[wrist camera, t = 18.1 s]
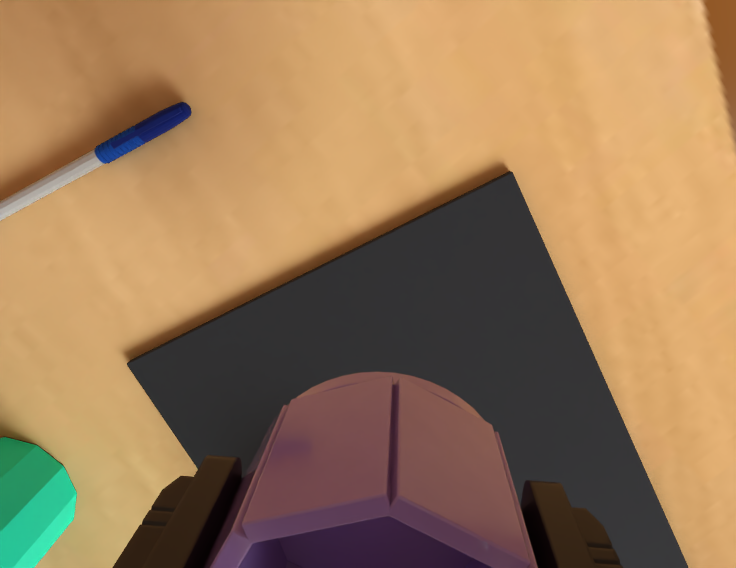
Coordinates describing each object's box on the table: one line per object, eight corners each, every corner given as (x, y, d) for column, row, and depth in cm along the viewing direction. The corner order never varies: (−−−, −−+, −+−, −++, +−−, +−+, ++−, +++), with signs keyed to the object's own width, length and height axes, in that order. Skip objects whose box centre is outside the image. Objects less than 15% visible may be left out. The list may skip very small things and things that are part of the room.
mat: (130, 360, 25) (125, 364, 24) (510, 170, 21) (512, 171, 21) (411, 774, 31) (411, 782, 31) (737, 679, 28) (741, 687, 27)
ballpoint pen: (184, 93, 21) (174, 92, 20) (197, 115, 21) (187, 115, 20) (-25, 218, 23) (-43, 222, 22) (-12, 237, 23) (-29, 242, 22)
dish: (217, 519, 14) (133, 699, 10) (326, 324, 12) (285, 438, 8) (425, 620, 14) (434, 833, 10) (558, 446, 13) (636, 616, 8)
